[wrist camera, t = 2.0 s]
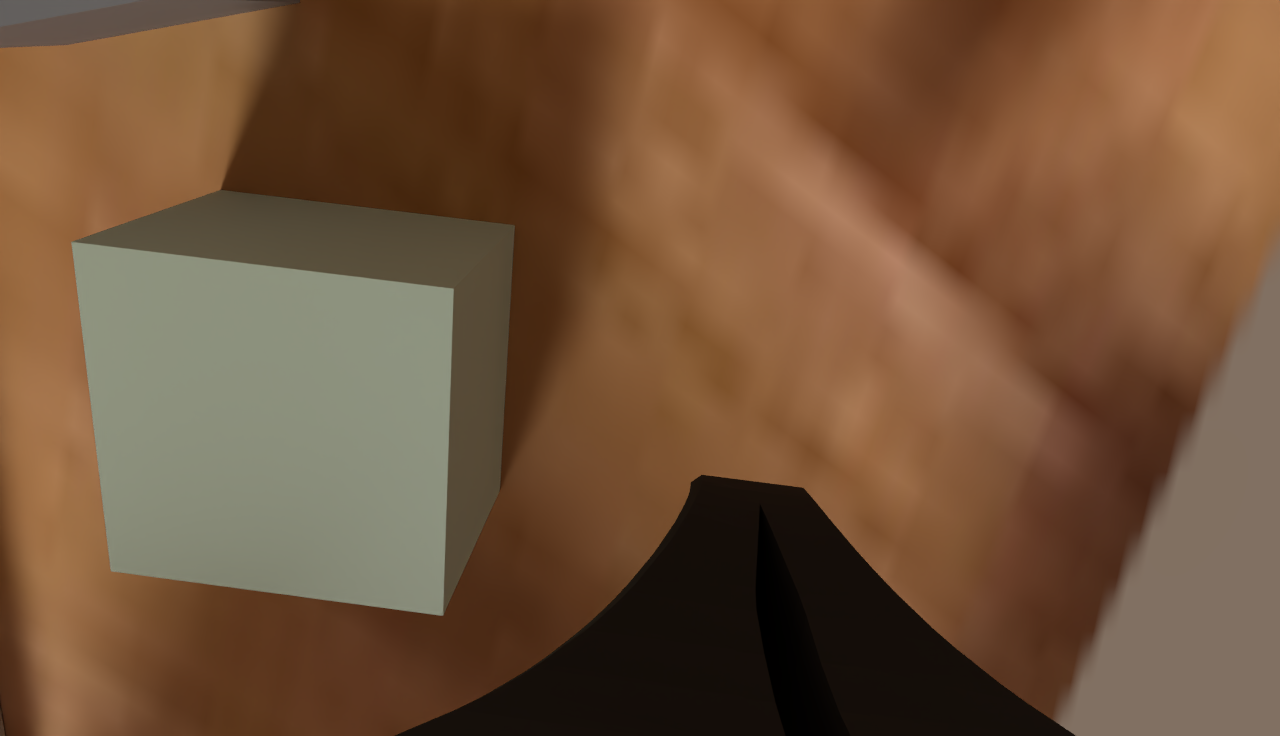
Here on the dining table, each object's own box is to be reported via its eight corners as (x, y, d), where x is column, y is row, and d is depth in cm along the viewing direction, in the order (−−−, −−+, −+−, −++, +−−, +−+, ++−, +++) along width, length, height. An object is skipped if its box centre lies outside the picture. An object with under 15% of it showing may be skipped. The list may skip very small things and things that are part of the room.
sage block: (501, 486, 17) (442, 615, 14) (239, 452, 17) (110, 571, 14) (516, 223, 16) (453, 288, 12) (224, 188, 16) (71, 242, 12)
